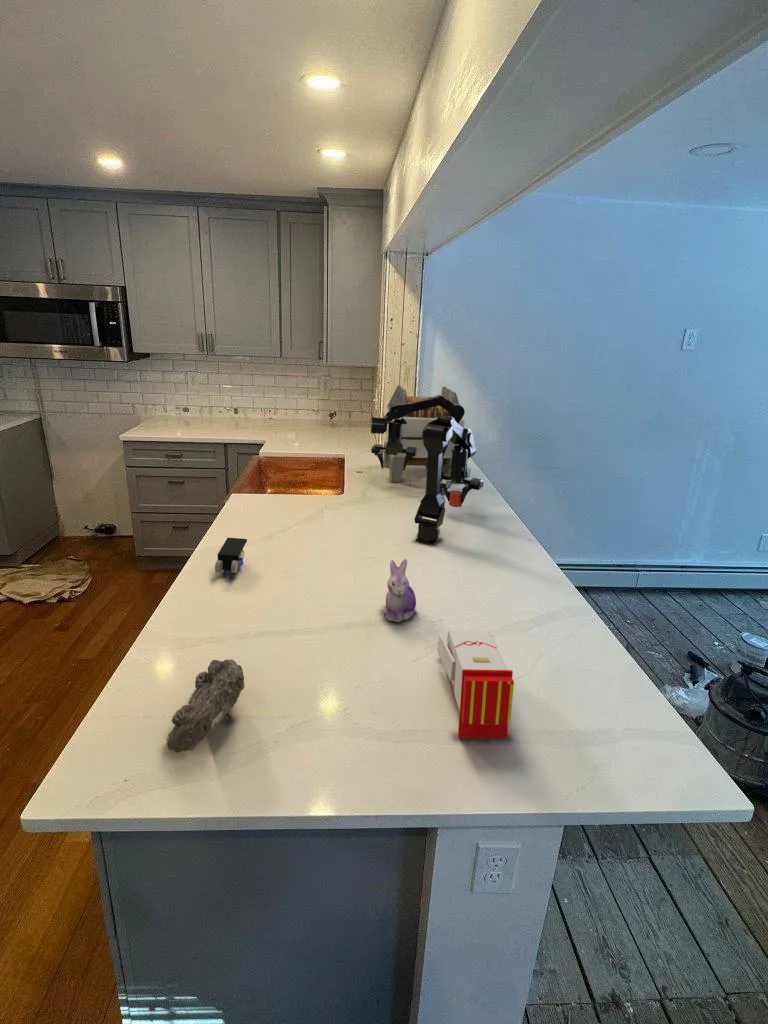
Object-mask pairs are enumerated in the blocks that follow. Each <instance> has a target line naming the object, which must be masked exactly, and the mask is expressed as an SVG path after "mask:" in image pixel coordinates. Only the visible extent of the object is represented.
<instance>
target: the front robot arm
mask: <svg viewBox="0 0 768 1024" xmlns="http://www.w3.org/2000/svg"><path fill="white" fill-rule="evenodd" d="M422 436H423V445H424V447H425V449H426V450H427V452H428V460H427V470H426V479H425V480H426V482H425V483H426V484H425V495H424V496H423V497H422V498H421V500H420V504H419V506H418V509H417V511H416V513H415V516H414V524H418V527H417V538H416V539H415V542H417V543H421V544H425V545H430V546H435V544H436V543H437V542H438V541H439V540H440V532H441V528H440V527H441V526H442V525H443V524H444V519H445V515H446V507H445V504H446V503H445V502H446V500H447V502H449V496H450V491H452V490H451V487H452V484H453V483H452V482H455V483H456V484H461V485H464V486H463V487H462V488H461V492H462V496H461V504H462V505H463V504H464V502H465V500H466V497H467V495H468V493H469V492H470V491H472V490H476V491H479V490H481V489H483V488H484V485H485V484H484V480H483V479H482V478H477V477H472V478H471V479H469V478H470V477H471V472H472V469H470V468H469V467H468V460H469V459H470V458H472V457H474V456H475V455H476V454H477V448H476V444H475V438H474V434H473V432H472V430H471V429H469V428H465V427H464V428H462V427H461V426H460V425H459V424H458V423H457V422H456V421H455V419H454V418H453V417H450V416H439V417H438V418H437V419H436V420H434V421H431V422H429V423H428V424H427V425H426V427H425V428H424V429H423V433H422ZM449 440H451V442H452V443H453V444H456V445H455V446H454V448H452V450H451V452H452V460H451V465H450V468H451V472H450V476H447V474H446V473H443V472H441V468H442V453H443V451H444V449H445V448H446V447H447V445H448V441H449ZM458 445H459V446H458ZM455 483H454V484H455ZM440 485H441V486H442V488H443V490H444V492H443V493H444V494H445V496H442V495H441V494H440ZM445 497H446V498H445Z"/></svg>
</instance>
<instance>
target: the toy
mask: <svg viewBox="0 0 768 1024" xmlns="http://www.w3.org/2000/svg"><path fill="white" fill-rule="evenodd" d="M446 640H447V643H446V641H445V639H444V636H443V635H442V634H439V637H438V646H437V656H438V657H439V659H440V661H441V663H442V666H443V668H444V670H445V672H446V674H447V677H448V679H449V681H450V684H451V687H452V690H453V693H454V697H455V701H456V705H457V708H458V711H459V714H458V715H459V716H458V730H457V731H458V732H457V737H458V738H508V731H509V726H510V725H511V717H512V707H513V697H514V696H513V695H514V684H515V680H514V679H513V673H514V671H513V670H512V669H508V667H507V665H506V662H505V661H504V659H503V658H502V655H501V653H500V651H499V649H498V647H497V643H496V639H495V637H494V635H493V634H491V632H490V631H489V629H467V628H466V629H465V628H463V629H461V628H460V629H459V628H448V630H447V639H446Z"/></svg>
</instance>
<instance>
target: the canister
mask: <svg viewBox="0 0 768 1024" xmlns="http://www.w3.org/2000/svg"><path fill="white" fill-rule="evenodd" d="M461 496H462V490H451V491H450V496H449V501H448V505H449V506H450V507H452V508H461V507H462V506H463V504H461Z"/></svg>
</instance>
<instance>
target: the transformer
mask: <svg viewBox="0 0 768 1024" xmlns="http://www.w3.org/2000/svg"><path fill="white" fill-rule="evenodd" d="M440 393H441V394H440V395H442V396H443V397H444V398H445V399H447V400H449V401H450V402H452V403H458V404H460V402H459V398H458V395H457V392H455V391H453V390H452V389H451V388H447V386H442V387H441V392H440ZM407 394H408V393H407V390H406V389H404V388H403V387H402V385H399V384H398V385H397V386H396V388H395V390H394V392H393V394H392V395H391V398H390V400H389V402H388V404H387V405H386V413H385V415H386V414H387V413H388V411H389V407H390V405H391V404H393V403H409V402H414V401H418V400H422V399H426V398H430V397H431V396H415V395H414V396H413V395H412V396H411V395H407ZM447 413H448V411H447V410H445V409H444V408H442V407H441V406H436V407H431V408H427V409H423V410H419V411H415V412H412V413H410V414H408V415H406V416H404V417H402V418H404V420H405V421H406V422H407V424H402V439H401V444H403V449H407V447H416V449H417V454H416V456H415V457H412V458H409V460H408V463H407V465H406V467H407V466H411V467H412V466H413V467H415V466H416V467H417V466H418V467H425V466H426V465H425V463H426V461H427V458H428V452H427V450H426V449H425V447H424V445H423V436H422V433H423V429H424V428H425V427H426V425H427V424H428V423H429V422H431V421H434V420H436V419H437V418H438V417H439V416H447ZM402 418H399V419H402ZM392 421H394V420H392ZM458 424H459V425H460V426H461V427H462V428H465V419H464V418H462V419H461V421H460V422H459V423H458ZM388 427H389V424H387V431H386V432H385V438H384V442H383V447H386V444H387V441H388ZM455 445H456V444H453V443H452V442H451V440H450V441H449V444H448V446H447V449H446V451H445V454H444V456H443V461H442V468H441V471H442V472H443V473H446V474H447V476H450V472H451V468H450V465H451V460H452V452H451V450H452V448H454V446H455ZM458 446H459V445H458ZM405 456H406V453H398V454H397V455H387V454H386V452H383V460H384V467H388V468H389V475H388V476H389V477H388V478H389V480H390V482H391V483H402V482H403V475H404V471H403V467H404V461H405ZM451 484H455V482H452V483H451Z"/></svg>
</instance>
